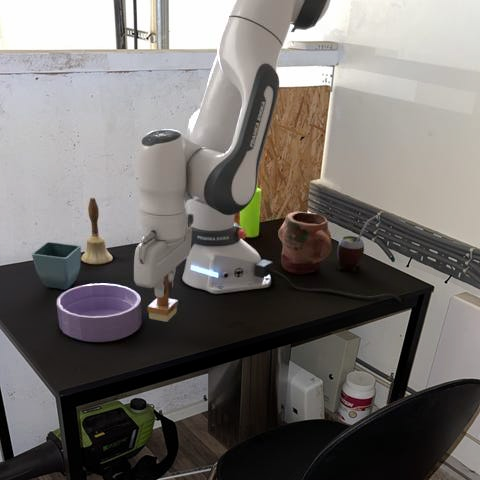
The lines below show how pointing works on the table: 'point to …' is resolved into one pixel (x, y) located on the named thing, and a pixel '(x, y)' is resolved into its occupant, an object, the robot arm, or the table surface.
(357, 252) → the mate gourd
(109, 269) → the table surface
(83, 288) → the bowl
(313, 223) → the decorative planter
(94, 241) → the hand bell
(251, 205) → the soap dispenser
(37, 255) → the flower pot
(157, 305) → the brush
